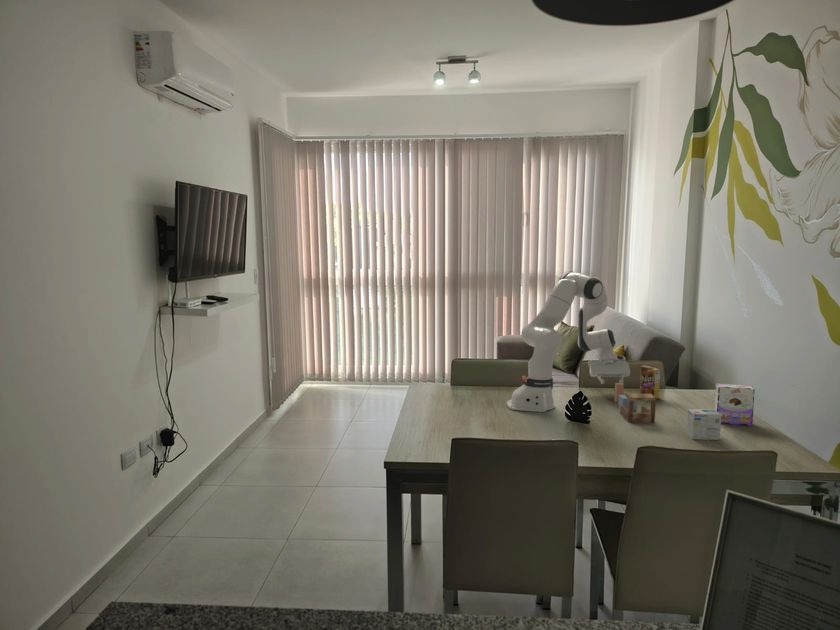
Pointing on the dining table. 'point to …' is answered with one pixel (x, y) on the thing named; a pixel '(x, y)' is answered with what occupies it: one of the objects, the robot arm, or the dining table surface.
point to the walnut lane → (646, 413)
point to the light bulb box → (703, 424)
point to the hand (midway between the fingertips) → (612, 383)
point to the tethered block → (622, 396)
